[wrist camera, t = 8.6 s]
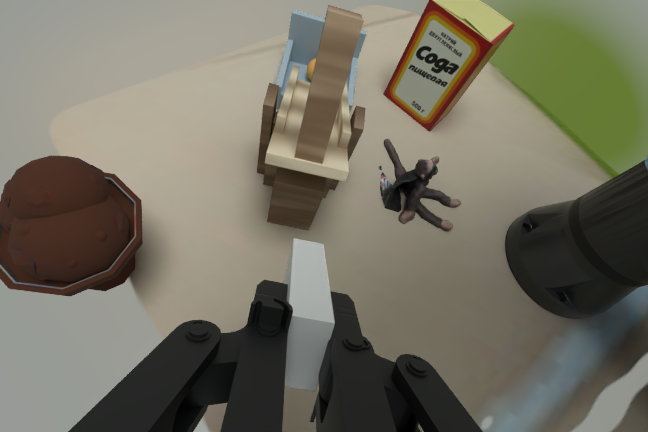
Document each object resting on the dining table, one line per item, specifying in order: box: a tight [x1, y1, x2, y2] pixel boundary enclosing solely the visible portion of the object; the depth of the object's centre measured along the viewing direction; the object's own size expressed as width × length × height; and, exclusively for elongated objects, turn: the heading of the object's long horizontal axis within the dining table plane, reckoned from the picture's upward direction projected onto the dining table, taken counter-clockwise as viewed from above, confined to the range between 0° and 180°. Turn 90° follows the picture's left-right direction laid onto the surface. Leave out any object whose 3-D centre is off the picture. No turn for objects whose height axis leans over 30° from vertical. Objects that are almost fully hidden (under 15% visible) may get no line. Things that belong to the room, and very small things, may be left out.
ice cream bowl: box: [0, 156, 142, 296], centre depth 29 cm, size 11×11×15 cm
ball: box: [307, 58, 316, 80], centre depth 52 cm, size 4×4×4 cm
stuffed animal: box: [379, 139, 461, 230], centre depth 49 cm, size 12×10×12 cm
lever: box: [265, 5, 363, 182], centre depth 34 cm, size 20×7×12 cm, turn 172°
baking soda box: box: [383, 0, 514, 132], centre depth 50 cm, size 10×6×16 cm
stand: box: [257, 83, 365, 230], centre depth 40 cm, size 11×10×12 cm
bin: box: [276, 10, 367, 113], centre depth 50 cm, size 11×11×8 cm
